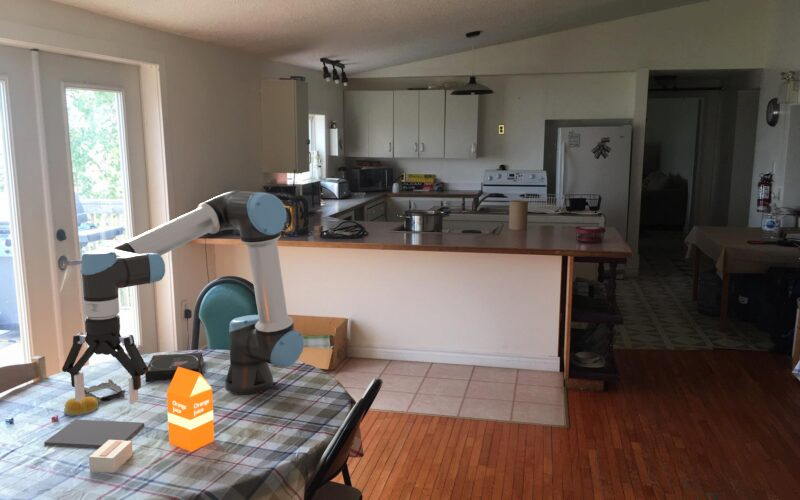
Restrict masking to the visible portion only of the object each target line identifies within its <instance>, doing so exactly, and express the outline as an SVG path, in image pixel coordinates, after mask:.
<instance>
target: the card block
mask: <svg viewBox="0 0 800 500" xmlns="http://www.w3.org/2000/svg"><path fill="white" fill-rule="evenodd" d="M132 456H133V442H132V440H128V441H124V440H108V441H107V442H106V443H105V444H103V445H102V446H101V447H100V448H96V450H95V451H94V452H93V453H91V455H89V456H88V460H89V461H88V462H89V463H88V464H89V472H95V473H96V472H97V473H109V474H110V473H112V474H113V473H116V471H117V470H118V469H120V468H121V467H122V466H123V465H124V464H125V463H126V462H128V460H129V459H130V458H131V457H132Z"/></svg>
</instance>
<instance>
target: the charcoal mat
mask: <svg viewBox="0 0 800 500" xmlns="http://www.w3.org/2000/svg"><path fill="white" fill-rule="evenodd" d="M144 426H145V423H144V422H134V421H116V420H112V421H111V420H99V419H97V420H94V419H74V420H72V421H70V423H68V424H67V425H65V426H64V427H63V428H61V429H60V430H58V432H56V433H54V434H53V435H51V437H49V438H48V439H47V440H45V441H44V443H43V444H44V446H54V447H55V446H56V447H73V448H74V447H75V448H76V447H77V448H91V449H92V448H94V449H99V448H100V447H101V446H102V445H103V444H105V443H106V442H107V441H108V440H124V441H130V439H131V438H132V437H134V435H135V434H136V433H137V432H139V431H140V430H141V429H142V428H143V427H144Z"/></svg>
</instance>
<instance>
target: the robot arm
mask: <svg viewBox="0 0 800 500" xmlns="http://www.w3.org/2000/svg"><path fill="white" fill-rule="evenodd" d="M287 216H288V215H287V210H286V207H285V205H284V203H283V201H282V200H281V199H280V198H279V197H277V196H276V195H274V194H272V193H268V192H264V191H246V190H231V191H228V192H224V193H222V194H220V195H217V196H214V197H213V198H211V199H208V200H206V201H204V202H201V203H199V204H198V205H197V207H196V209H194V210H192V211H190V212H187V213H184V214H182V215H180V216H178V217H176V218H174V219H172V220H170V221H168V222H165V223H163V224H160V225H159V226H157V227H155V228H152V229H150V230H147V231H145V232H143V233H141V234H139V235H137V236H135V237H132V238H130V239H127V240H126V241H122V242H121V243H118V244H116V245H114V246H111V247H110V246H102V247H98V248H96V249H95V250H89V251H85V252H84V253H83V254H82V256H81V264H80V266H81V267H80V269H81V270H80V274H81V279H82V282H81V283H82V293H83V307H84V308H83V310H84V316H85V318H84V328H85V334H84V333H82V332H80V333H77V334H76V335H74V336H73V337H72V346H71V347H70V350H69V353H68V355H67V356H66V359H65V362H64V364H63V365H62V369H61V370H62V372H63V373H69V375H70V381H71V386H72V388H74V395H75V396H74V398H75V399H76V401H80V400H81V399H83V398H84V397H86V396H85V391H84V388H85V377H84V371H81V370H82V369H83V367H84V366H85V364H86V363H88V361H89V359H91V357H93V355H94V354H95V355H105V356H109V355H111V357H113V358H115V359H116V360H117V361H118V362H119V364H120V365H121V366H122V367H123V368H124V369H125V371H126V372H127V373H128V374H129V377H128V391H129V393H128V394H129V395H128V396H129V405H134V404H135V403H136V402H138V401H139V389H141V387H142V378H141V376H144V375H145V373H146V372H148V368H147V367H148V365H147V364H146V362H145V360H144V358H143V356H142V355H141V353H140V351H139V349H138V347H137V346H136V343H135V337H134V335H132V334H129V335H127V336H122V335H121V333H120V331H121V320H120V319H121V317H120V315H119V313H120V303H119V289H123V288H128V287H135V286H140V285H147V284H148V285H150V284H153V283H157V282H160V281H162V280H163V278H164V277H165V274H166V263H165V261H164V259H163V257H162V256H163V255H165V254H167V253H169V252H172V251H173V250H176V249H178V248H179V247H181V246H184V245H186V244H188V243H190V242H192V241H195V240H197V239H198V238H201V237H203V236H204V235H206V234H212V235H214V234H217V233H219V232H221V231H224V230H236V231H237V230H238V231H239V235H240V241H241V242H242V243H243V244H245V245H246V246H247V252H248V253H247V254H248V258H249V265H250V272H251V276H252V284H253V291H254V295H255V303H256V309H257V314H249V315H248V314H247V315H243V316H239V317H235V318H233V319H231V321H230V322H229V327H228V328H229V330H228V334H229V335H228V336H229V337H228V339H229V358H230V365H229V367H228V369H227V370H228V371H227V374H226V378H225V382H224V384H225V389H226V390H227V392H229V393H232V394H237V395H252V394H259V393H263V392H265V391H268V390H269V389H271V388H272V387H273V386H274V377H273V374H272V371H271V369H270V365H272V366H273V367H281V368H287V367H290V366H292V365H294V364H295V363H296V362H298V360H299V358H300V357H301V355H302V353H303V351H304V348H305V347H304V345H305V340H304V339H305V338H304V336H303V335H302V333H301V332H299V330H296V329H295V325H294V319H293V318H292V317H291V316H289V315H288V310H287V304H286V296H285V290H284V282H283V276H282V269H281V262H280V255H279V248H278V241H279V239H280V238H281V237H282V230H283V229H284V228H285V224H286V223H287ZM85 342H86V344H87V345H88V347H87V348H86V349H85V351H84V353H83V354H82V355H81V357H80V358H79V359H78V361H76V360H77V358H78V356H79V354H80V351H81V349H82V347H83V344H84V343H85ZM121 344H122V345H121ZM122 346H123V347H124V348H123V347H122ZM125 350H126V352H125ZM269 364H270V365H269Z"/></svg>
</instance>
